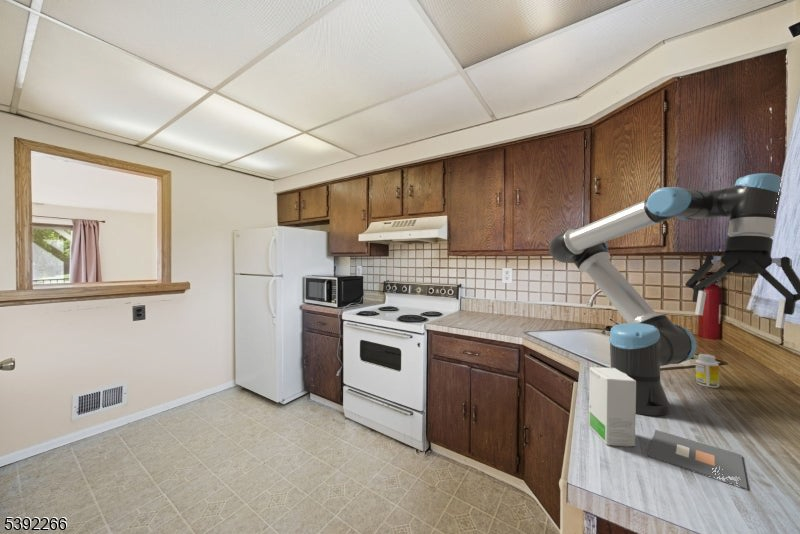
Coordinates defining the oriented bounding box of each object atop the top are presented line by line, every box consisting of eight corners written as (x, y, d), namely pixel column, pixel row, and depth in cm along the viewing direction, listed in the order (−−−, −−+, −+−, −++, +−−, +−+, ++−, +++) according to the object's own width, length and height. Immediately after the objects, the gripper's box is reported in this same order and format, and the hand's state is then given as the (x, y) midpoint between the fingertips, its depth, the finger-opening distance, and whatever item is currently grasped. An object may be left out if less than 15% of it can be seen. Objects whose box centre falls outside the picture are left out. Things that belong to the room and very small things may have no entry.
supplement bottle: (720, 385, 101) (719, 355, 101) (718, 389, 97) (717, 358, 97) (697, 380, 105) (696, 352, 105) (695, 384, 102) (694, 355, 102)
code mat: (647, 455, 64) (647, 454, 64) (655, 430, 73) (655, 429, 73) (747, 490, 53) (747, 488, 53) (741, 456, 63) (741, 454, 63)
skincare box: (588, 427, 75) (587, 366, 76) (616, 428, 75) (614, 367, 75) (607, 446, 67) (605, 378, 67) (638, 448, 66) (637, 379, 67)
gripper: (840, 239, 64) (825, 335, 64) (688, 240, 86) (677, 311, 86) (835, 232, 61) (818, 334, 61) (678, 235, 83) (666, 309, 83)
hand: (735, 321), depth 73 cm, fingers open, 13 cm apart
